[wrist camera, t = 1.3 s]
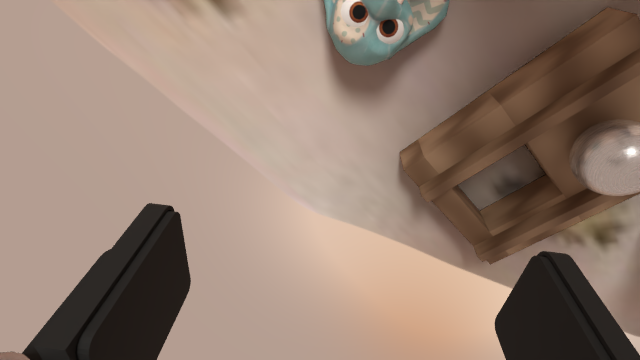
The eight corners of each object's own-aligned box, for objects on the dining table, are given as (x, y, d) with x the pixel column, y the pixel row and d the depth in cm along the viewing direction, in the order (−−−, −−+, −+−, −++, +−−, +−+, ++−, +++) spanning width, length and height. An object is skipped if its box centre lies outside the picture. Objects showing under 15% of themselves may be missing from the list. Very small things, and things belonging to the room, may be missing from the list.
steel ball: (618, 92, 28) (675, 124, 23) (645, 143, 31) (702, 182, 26) (543, 137, 31) (580, 174, 26) (573, 181, 33) (612, 223, 28)
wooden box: (607, 7, 28) (651, 18, 24) (673, 144, 34) (718, 171, 30) (399, 152, 37) (405, 178, 32) (480, 242, 42) (494, 274, 38)
